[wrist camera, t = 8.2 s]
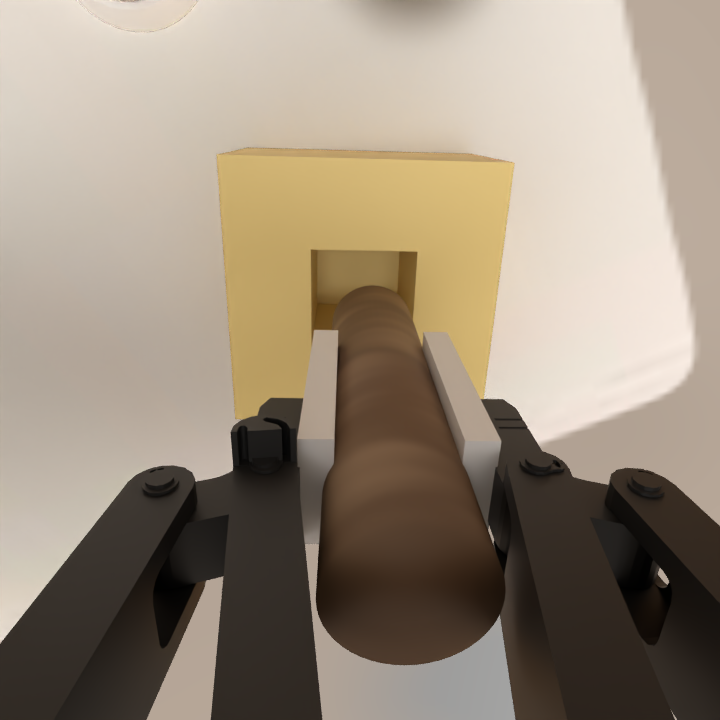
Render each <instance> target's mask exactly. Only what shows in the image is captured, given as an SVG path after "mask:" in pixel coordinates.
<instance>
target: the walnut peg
mask: <svg viewBox="0 0 720 720" xmlns="http://www.w3.org/2000/svg"><path fill="white" fill-rule="evenodd" d="M332 330H338V361H337V390H336V418H335V447H334V464H333V466H332V467H331V469H330V471H329V472H328V474H327V477H326V479H325V481H324V485H323V490H322V504H321V521H320V538H319V554H318V571H317V588H316V605H317V611H318V615H319V618H320V620H321V622H322V624H323V626H324V627H325V629H326V630H327V632H328V633H329V634H330V635H331V637H332V638H333V639H334V640H335V641H336V642H337V643H339V644H340V645H341V646H342V647H344V648H345V649H347V650H349V651H350V652H352V653H354V654H356V655H358V656H360V657H363V658H366V659H369V660H371V661H376V662H380V663H385V664H392V665H417V664H424V663H430V662H434V661H439V660H442V659H445V658H448V657H451V656H453V655H455V654H457V653H459V652H462V651H463V650H465V649H467V648H468V647H470V646H472V645H473V644H474V643H476V642H477V641H478V640H480V639H481V638H482V637H483V636H484V635H485V634H486V633H487V632H488V631H489V630H490V628H491V627H492V626H493V625H494V623H495V622H496V620H497V618H498V617H499V615H500V612H501V610H502V608H503V604H504V600H505V593H506V586H505V578H504V574H503V571H502V568H501V565H500V562H499V560H498V557H497V554H496V551H495V548H494V546H493V543H492V540H491V537H490V534H489V532H488V529H487V526H486V523H485V520H484V518H483V515H482V512H481V509H480V506H479V504H478V501H477V498H476V495H475V493H474V490H473V487H472V484H471V481H470V479H469V476H468V473H467V471H466V469H465V467H464V465H463V464H462V461H461V458H460V455H459V453H458V450H457V447H456V444H455V441H454V438H453V435H452V433H451V430H450V427H449V424H448V421H447V418H446V416H445V413H444V410H443V407H442V404H441V401H440V398H439V396H438V393H437V390H436V387H435V384H434V381H433V378H432V376H431V373H430V370H429V367H428V364H427V361H426V358H425V356H424V353H423V350H422V345H421V342H420V339H419V336H418V333H417V331H416V328H415V325H414V322H413V320H412V317H411V314H410V311H409V309H408V306H407V305H406V303H405V301H404V300H403V299H402V298H401V297H400V296H399V295H398V294H397V293H395V292H394V291H392V290H390V289H388V288H385V287H382V286H375V285H371V286H363V287H360V288H357V289H355V290H353V291H351V292H349V293H348V294H347V295H345V296H344V297H343V298H342V299H341V301H340V302H339V303H338V305H337V307H336V309H335V311H334V315H333V321H332Z"/></svg>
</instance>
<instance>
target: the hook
mask: <svg viewBox="0 0 720 720" xmlns="http://www.w3.org/2000/svg"><path fill="white" fill-rule="evenodd" d="M76 1H78V2H79V3H80V4H81V5H82V6H83V7H84V8H85V9H86V10H87V11H88V12H89V13H91V14H92V15H94V16H95V17H97V18H98V19H100V20H101V21H103V22H105V23H107V24H109V25H112V26H114V27H116V28H119V29H123V30H127V31H132V32H152V31H156V30H160V29H164V28H167V27H168V26H170V25H172V24H174V23H176V22H178V21H179V20H181V19H182V18H183V17H184V16H185V15H186V14H187V13H189V12H190V11H191V9H192V8H193V7H194V5H195V4H196V3H197V1H198V0H138V1H118V0H76Z"/></svg>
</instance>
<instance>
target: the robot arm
mask: <svg viewBox="0 0 720 720" xmlns="http://www.w3.org/2000/svg"><path fill="white" fill-rule="evenodd" d="M422 350H423V353H424V356H425V358H426V361H427V364H428V367H429V370H430V373H431V376H432V378H433V381H434V384H435V387H436V390H437V393H438V396H439V398H440V401H441V404H442V407H443V410H444V413H445V416H446V418H447V421H448V424H449V427H450V430H451V433H452V435H453V438H454V441H455V444H456V447H457V450H458V453H459V455H460V458H461V461H462V464H463V465H464V467H465V469H466V471H467V473H468V476H469V479H470V481H471V484H472V487H473V490H474V493H475V495H476V498H477V501H478V504H479V506H480V509H481V512H482V515H483V518H484V520H485V523H486V526H487V529H488V528H489V526H490V529H491V532H492V534H493V537H494V545H493V546H494V548H495V551H496V554H497V557H498V560H499V562H500V565H501V568H502V571H503V574H504V578H505V586H506V593H505V600H504V604H503V608H502V610H501V612H500V619H501V625H502V632H503V638H504V645H505V652H506V659H507V665H508V672H509V679H510V685H511V692H512V699H513V705H514V712H515V719H516V720H675V719H674V717H673V714H674V715H675V717H676V718H677V720H720V526H719V525H718V524H717V523H716V522H715V521H714V520H712V519H711V518H710V517H709V516H708V515H707V514H706V513H705V512H704V511H703V510H701V509H700V508H699V507H698V506H697V505H696V504H695V503H694V502H693V501H692V500H691V499H690V498H689V497H687V496H686V495H685V494H684V493H683V492H682V491H681V490H680V489H679V488H678V487H677V486H676V485H674V484H673V483H671V482H670V481H669V480H667V479H666V478H664V477H662V476H660V475H657V474H655V473H654V472H651V471H648V470H644V469H633V468H624V469H619V470H616V471H615V472H614V473H612V474H611V477H610V481H609V485H606V484H600V483H595V482H590V481H585V480H581V479H578V478H574V477H573V476H572V474H571V472H570V469H569V468H568V467H567V465H566V464H565V463H564V462H563V461H562V460H560V459H559V458H557V457H556V456H553V455H551V454H548V453H546V452H542V450H541V449H540V447H539V445H538V444H537V442H536V440H535V439H534V437H533V435H532V434H531V432H530V431H529V429H527V426H526V424H525V422H524V421H522V417H521V416H520V414H519V412H518V411H517V409H516V408H515V407H513V406H512V405H510V404H509V403H507V402H506V401H505V400H503V399H480V397H479V395H478V393H477V391H476V389H475V387H474V385H473V383H472V381H471V379H470V377H469V375H468V373H467V371H466V369H465V367H464V365H463V363H462V361H461V359H460V357H459V355H458V353H457V351H456V349H455V347H454V345H453V343H452V341H451V339H450V337H449V335H448V333H447V332H423V345H422ZM337 361H338V330H314V335H313V341H312V347H311V354H310V360H309V366H308V373H307V379H306V386H305V392H304V398H270V399H268V400H267V401H266V402H265V403H264V404H263V405H261V406H260V408H259V412H258V415H257V416H252V417H249V418H246V419H243V420H241V421H240V422H238V423H237V424H236V425H234V426H233V428H232V430H231V443H232V456H233V471H231V472H230V473H228V474H225V475H223V476H220V477H217V478H213V479H208V480H203V481H198V482H195V478H194V476H193V473H192V472H190V471H189V470H187V469H186V468H183V467H178V466H159V467H154V468H151V469H148V470H146V471H143V472H141V473H139V474H137V475H136V476H135V477H133V478H132V479H131V480H130V481H129V482H128V483H127V484H126V485H125V487H124V488H123V489H122V491H121V492H120V493H119V494H118V496H117V497H116V498H115V499H114V501H113V502H112V503H111V504H110V506H109V507H108V508H107V509H106V511H105V512H104V513H103V515H102V516H101V517H100V518H99V520H98V521H97V522H96V523H95V525H94V526H93V527H92V528H91V530H90V531H89V532H88V534H87V535H86V536H85V537H84V539H83V540H82V541H81V542H80V544H79V545H78V546H77V547H76V549H75V550H74V551H73V552H72V554H71V555H70V556H69V558H68V559H67V560H66V561H65V563H64V564H63V565H62V566H61V568H60V569H59V570H58V571H57V573H56V574H55V575H54V577H53V578H52V579H51V580H50V582H49V583H48V584H47V585H46V587H45V588H44V589H43V590H42V592H41V593H40V594H39V595H38V597H37V598H36V599H35V601H34V602H33V603H32V604H31V606H30V607H29V608H28V609H27V611H26V612H25V613H24V614H23V616H22V617H21V618H20V620H19V621H18V622H17V623H16V625H15V626H14V627H13V628H12V630H11V631H10V632H9V633H8V635H7V636H6V637H5V638H4V640H3V641H2V642H1V644H0V720H146V719H147V717H148V714H149V712H150V710H151V708H152V706H153V703H154V701H155V699H156V697H157V694H158V692H159V690H160V687H161V685H162V683H163V681H164V678H165V676H166V674H167V672H168V669H169V667H170V665H171V663H172V660H173V658H174V656H175V653H176V651H177V649H178V647H179V644H180V642H181V640H182V638H183V635H184V633H185V631H186V628H187V626H188V624H189V622H190V619H191V617H192V615H193V613H194V610H195V608H196V606H197V604H198V601H199V599H200V597H201V594H202V592H203V590H204V587H205V582H206V580H210V579H214V578H218V577H222V576H224V577H223V588H222V600H221V611H220V622H219V633H218V645H217V656H216V667H215V679H214V690H213V701H212V713H211V720H322V712H321V703H320V692H319V683H318V672H317V662H316V652H315V642H314V632H313V622H312V612H311V601H310V591H309V581H308V572H307V561H306V551H305V544H319V538H320V521H321V504H322V490H323V485H324V481H325V479H326V477H327V474H328V472H329V471H330V469H331V467H332V466H333V464H334V447H335V418H336V390H337ZM659 568H661V569H662V570H663V571H664V573H665V574H666V576H667V578H668V580H669V584H668V585H667V584H665V583H664V582H663V580H662V579H661V578H660V577H659V576H658V571H659ZM670 709H671V710H670ZM671 711H672V712H673V714H672V712H671Z"/></svg>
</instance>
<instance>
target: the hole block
mask: <svg viewBox="0 0 720 720" xmlns="http://www.w3.org/2000/svg"><path fill="white" fill-rule="evenodd" d="M217 168H218V182H219V196H220V210H221V224H222V238H223V252H224V266H225V280H226V294H227V308H228V322H229V336H230V349H231V363H232V377H233V391H234V405H235V419H246V418H249V417H252V416H257V415H258V412H259V408H260V406H261V405H263V404H264V403H265V402H266V401H267V400H268V399H270V398H304V392H305V386H306V379H307V373H308V366H309V360H310V354H311V347H312V341H313V335H314V330H332V321H333V315H334V311H335V309H336V307H337V305H338V303H339V302H340V301H341V299H342V298H343V297H344V296H345V295H347V294H348V293H349V292H351V291H353V290H355V289H357V288H360V287H363V286H371V285H375V286H382V287H385V288H388V289H390V290H392V291H394V292H395V293H397V294H398V295H399V296H400V297H401V298H402V299H403V300H404V301H405V303H406V305H407V306H408V309H409V311H410V314H411V317H412V320H413V322H414V325H415V328H416V331H417V333H418V336H419V339H420V342H421V345H423V332H447V333H448V335H449V337H450V339H451V341H452V343H453V345H454V347H455V349H456V351H457V353H458V355H459V357H460V359H461V361H462V363H463V365H464V367H465V369H466V371H467V373H468V375H469V377H470V379H471V381H472V383H473V385H474V387H475V389H476V391H477V393H478V395H479V397H480V399H484V392H485V384H486V377H487V369H488V361H489V354H490V346H491V338H492V331H493V323H494V315H495V308H496V300H497V292H498V285H499V277H500V270H501V262H502V254H503V247H504V239H505V231H506V224H507V216H508V208H509V201H510V193H511V185H512V178H513V170H514V163H513V162H508V161H503V160H499V159H494V158H489V157H484V156H479V155H474V154H457V153H421V152H385V151H349V150H314V149H278V148H244V149H240V150H235V151H231V152H226V153H222V154H217Z"/></svg>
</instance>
